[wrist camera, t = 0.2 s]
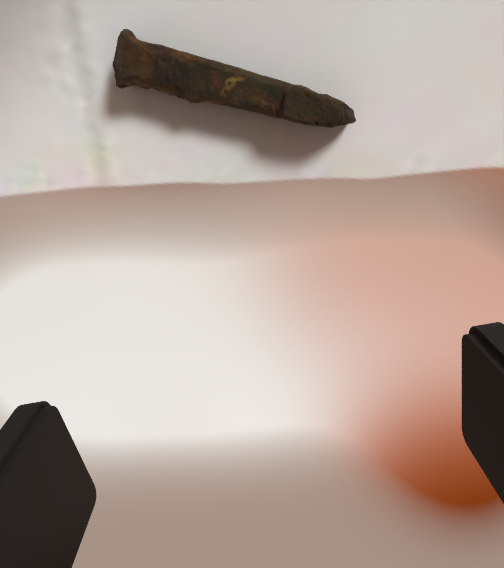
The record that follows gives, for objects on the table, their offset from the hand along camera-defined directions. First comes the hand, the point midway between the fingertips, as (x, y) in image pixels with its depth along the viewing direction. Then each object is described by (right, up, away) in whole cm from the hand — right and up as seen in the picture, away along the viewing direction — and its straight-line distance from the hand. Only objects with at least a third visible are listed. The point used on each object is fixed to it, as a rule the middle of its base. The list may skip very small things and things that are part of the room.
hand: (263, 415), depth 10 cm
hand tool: (-1, +20, +26) cm, 32 cm away
